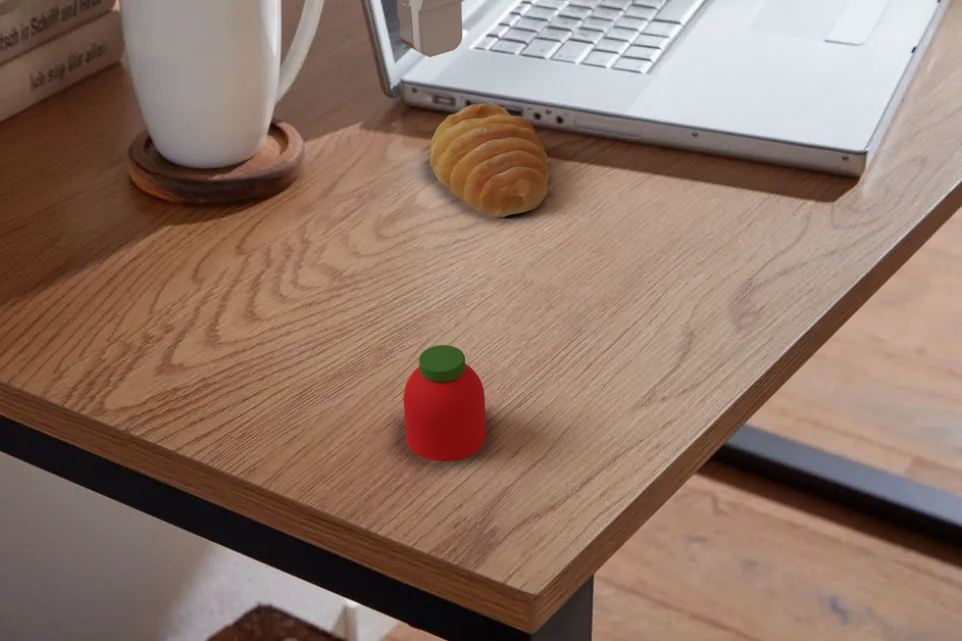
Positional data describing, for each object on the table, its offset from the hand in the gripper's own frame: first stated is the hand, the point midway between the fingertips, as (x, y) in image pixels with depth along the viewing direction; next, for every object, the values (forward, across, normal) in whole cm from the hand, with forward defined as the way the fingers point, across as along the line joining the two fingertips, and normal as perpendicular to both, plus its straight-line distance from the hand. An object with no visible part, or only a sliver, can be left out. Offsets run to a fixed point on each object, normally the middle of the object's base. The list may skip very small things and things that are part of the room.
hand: (361, 10), depth 51 cm
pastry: (+20, +16, -18) cm, 31 cm away
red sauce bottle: (+20, -3, -1) cm, 20 cm away
